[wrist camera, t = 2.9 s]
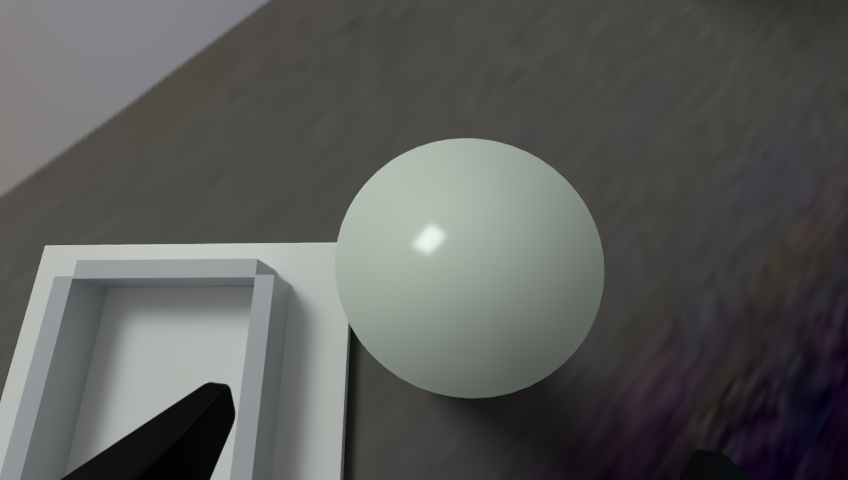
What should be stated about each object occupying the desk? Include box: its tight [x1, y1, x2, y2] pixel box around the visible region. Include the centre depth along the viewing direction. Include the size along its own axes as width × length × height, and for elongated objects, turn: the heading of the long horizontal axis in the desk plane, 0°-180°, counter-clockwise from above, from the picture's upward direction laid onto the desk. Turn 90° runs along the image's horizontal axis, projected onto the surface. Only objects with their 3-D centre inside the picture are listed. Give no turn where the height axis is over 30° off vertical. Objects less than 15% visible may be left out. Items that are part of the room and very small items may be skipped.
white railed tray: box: [0, 243, 351, 480], centre depth 18 cm, size 12×15×3 cm
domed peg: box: [335, 138, 604, 398], centre depth 13 cm, size 5×5×12 cm
